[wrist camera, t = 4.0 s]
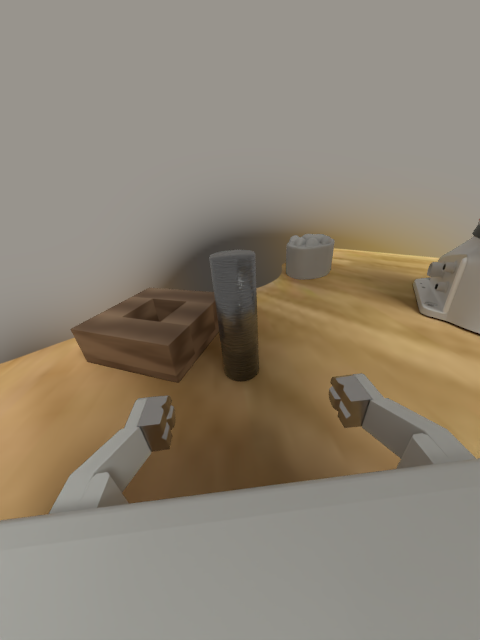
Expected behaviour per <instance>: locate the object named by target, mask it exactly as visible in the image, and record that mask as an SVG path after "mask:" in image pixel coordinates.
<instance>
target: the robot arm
mask: <svg viewBox="0 0 480 640" xmlns="http://www.w3.org/2000/svg"><path fill="white" fill-rule="evenodd" d="M473 235H474V236H473V237H472V238H471V239H469V240H468V241H466V242H465V243H463V244H461V245H460V246H458V247H457V248H455V249H453V250H452V251H450V252H448V253H446V254H444V255H443V256H441V257H440V258H439V260H438V262H433V263H431V264H430V266H429V268H428V272H427V275H428V276H430V277H431V278H421V279H416V280H415V281H414V283H413V287H414V291H415V295H416V299H417V303H418V307H419V311H420V312H421V313H422V314H424V315H427V316H430V317H434V318H437V319H441V320H445V321H448V322H451V323H453V324H456V325H458V326H460V327H463V328H465V329H468V330H471V331H473V332H476V333H479V334H480V219H479V223H478V226H477V227H476V229H475V230H474V232H473ZM330 383H331V384H332V387H331V388H330V389H329V400H330V402H331V405H332V407H333V408H334V409H335V410H337V411H338V418H339V419H340V421H341V423H342V425H343V426H344V428H349V427H359V426H362V428H363V429H365V430H366V431H367V432H368V433H370V434H371V435H372V436H373V437H375V438H376V439H377V440H378V441H380V442H381V443H382V444H383V445H385V446H386V447H387V448H388V449H390V450H391V451H392V452H393V453H395V454H396V455H397V456H398V457H400V458H401V460H400V462H399V464H398V466H397V468H396V469H393V470H385V471H377V472H370V473H362V474H354V475H347V476H339V477H331V478H323V479H316V480H308V481H300V482H292V483H285V484H277V485H269V486H262V487H254V488H246V489H239V490H231V491H223V492H216V493H208V494H200V495H192V496H185V497H177V498H169V499H162V500H154V501H146V502H139V503H131V504H129V503H128V501H127V500H126V498H125V497H124V495H123V494H122V492H123V490H124V489H125V488H126V486H127V485H128V484H129V482H130V481H131V480H132V478H133V477H134V476H135V474H136V473H137V472H138V470H139V469H140V468H141V466H142V465H143V464H144V462H145V461H146V459H147V458H148V457H149V455H150V454H151V452H153V451H160V450H167V449H170V445H171V440H172V433H171V430H172V429H173V428H174V425H175V409H174V407H173V406H172V405H171V402H172V400H171V397H170V396H158V397H148V398H138V399H137V400H136V402H135V404H134V406H133V409H132V411H131V413H130V416H129V418H128V420H127V423H126V425H125V427H124V429H120V430H119V431H118V432H117V433H116V434H115V435H114V436H113V437H112V438H110V439H109V440H108V441H107V442H106V443H105V444H104V445H103V446H102V447H101V448H100V449H98V450H97V451H96V452H95V453H94V454H93V455H92V456H91V457H90V458H89V459H88V460H86V461H85V462H84V463H83V464H82V465H81V466H80V467H79V468H78V469H77V470H75V471H74V472H73V473H72V474H71V475H70V476H69V478H68V480H67V482H66V483H65V485H64V487H63V489H62V491H61V493H60V494H59V496H58V498H57V500H56V502H55V503H54V505H53V507H52V509H51V511H50V512H49V514H46V515H38V516H30V517H22V518H14V519H7V520H0V640H480V458H477V459H476V458H475V457H474V456H473V455H472V454H471V453H470V452H469V451H468V450H467V449H466V448H465V447H464V446H463V445H462V444H461V443H460V442H459V441H458V440H457V439H456V438H455V437H454V436H453V435H452V434H451V433H450V432H449V431H448V430H447V429H445V428H443V427H441V426H440V425H438V424H436V423H434V422H432V421H430V420H428V419H426V418H424V417H423V416H421V415H419V414H417V413H415V412H413V411H411V410H409V409H407V408H406V407H404V406H402V405H400V404H398V403H396V402H394V401H392V400H390V399H389V398H384V397H383V396H382V395H381V394H380V392H379V391H378V390H377V389H376V388H375V386H374V385H373V384H372V383H371V382H370V381H369V379H368V378H367V377H366V376H365V375H364V374H362V373H361V374H353V375H344V376H336V377H332V378H331V382H330Z"/></svg>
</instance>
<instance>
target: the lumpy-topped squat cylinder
mask: <svg viewBox="0 0 480 640" xmlns="http://www.w3.org/2000/svg"><path fill="white" fill-rule="evenodd" d="M333 249H334V240H333V239H331V238H330V237H329V236H325V235H323V234H316V235H313V234H306V235H304V236H302V237H300V238H299V237H298V236H296V235H295V236H292V237H291V238H290V242H289V243H287V256H286V274H287V275H288V276H290V277H292V278H295V279H315V278H319V277H323V276H326V275H327V274H328V273H329V272H330V270H331V264H332V256H333Z"/></svg>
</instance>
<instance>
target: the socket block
mask: <svg viewBox="0 0 480 640" xmlns="http://www.w3.org/2000/svg"><path fill="white" fill-rule="evenodd" d="M71 331H72V333H73V335H74V337H75V339H76V341H77V343H78V345H79V346H80V348H81V350H82V352H83V354H84V356H85V358H86V360H87V362H91V363H95V364H99V365H104V366H108V367H112V368H117V369H121V370H125V371H130V372H134V373H138V374H143V375H147V376H151V377H156V378H160V379H164V380H169V381H173V382H177V383H179V381H180V380H181V379H182V378H183V376H184V375H185V374H186V373H187V371H188V370H189V369H190V368H191V366H192V365H193V364H194V362H195V361H196V360H197V359H198V357H199V356H200V355H201V354H202V352H203V351H204V350H205V349H206V347H207V346H208V345H209V344H210V342H211V341H212V340H213V338H214V337H215V336H216V335H217V333H218V332H219V326H218V318H217V311H216V303H215V296H214V292H203V291H188V290H174V289H160V288H148V289H146V290H144V291H142V292H140V293H138V294H136V295H134V296H133V297H131V298H129V299H127V300H125V301H123V302H121V303H119V304H118V305H115V306H114V307H112V308H110V309H108V310H106V311H104V312H102V313H100V314H98V315H96V316H94V317H93V318H91V319H89V320H87V321H85V322H83V323H81V324H80V325H78V326H75V327H74V328H72V329H71Z"/></svg>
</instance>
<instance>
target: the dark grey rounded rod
mask: <svg viewBox="0 0 480 640" xmlns="http://www.w3.org/2000/svg"><path fill="white" fill-rule="evenodd" d="M209 258H210V266H211V273H212V280H213V288H214V296H215V303H216V311H217V318H218V326H219V333H220V341H221V348H222V356H223V363H224V371H225V374H226V376H227V377H229V378H230V379H232V380H235V381H246V380H249V379H252V378H253V377H255V376H256V375H257V373H258V371H259V356H258V326H257V297H256V269H255V268H256V267H255V252H253V251H249V250H230V251H222V252H218V253H214V254H212V255H210V256H209Z"/></svg>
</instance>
